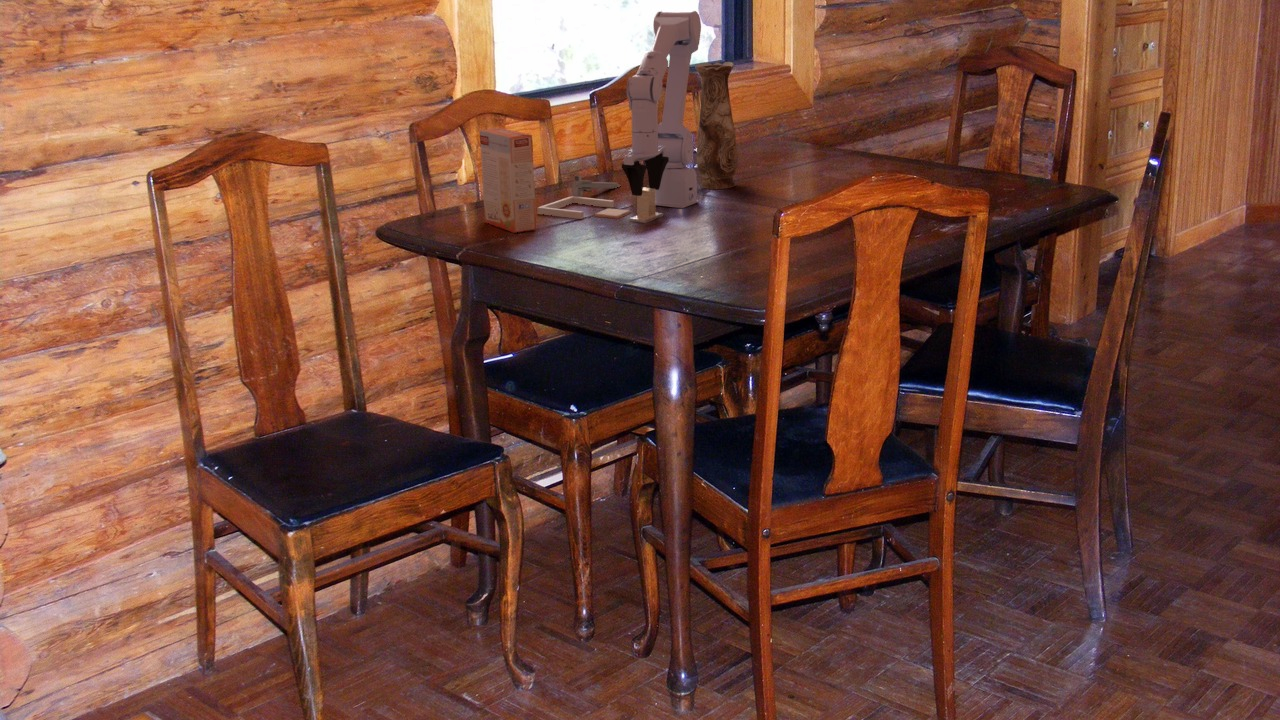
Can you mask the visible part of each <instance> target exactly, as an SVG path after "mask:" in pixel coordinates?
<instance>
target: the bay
mask: <svg viewBox="0 0 1280 720" xmlns="http://www.w3.org/2000/svg"><path fill="white" fill-rule="evenodd" d="M572 203H578V204H577V205H582V204H585V205H584V206H591V205H593V206H592V207H600V208H601V207H603V208H610V209H614V208H615V200H612V199H602V198H593V197H584V196H582V197H576V196H572V195H571V196H568V197H565V198H562V199H559V200H556V201H554V202H553V201H552V202H550V203H547V204H544V205H540V206H539V207H537V208H536V209H537V214H538V215H543V214H544V215H545V216H551V215H552V217H553V216H554V217H559V218H560V217H562V218H569V219H580V220H582V219H584V218H585V216H584V211H583V210H582V211H580V210H573V209H572V210H571V209H564V207H566V205H567V206H570V205H573V204H572ZM569 204H570V205H569ZM544 215H543V216H544Z"/></svg>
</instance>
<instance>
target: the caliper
mask: <svg viewBox="0 0 1280 720" xmlns="http://www.w3.org/2000/svg"><path fill="white" fill-rule="evenodd" d="M620 186H621V184H619V182H601V181H600V182H599V181H598V182H597V181H592V180H587V179H585V180H584V179H582V175H574V180H572V186H571V192H572V195H571V196H576V197H583V194H584V192H589V193H591V192H592V190H593V189H614V188H615V189H618V188H619V187H620ZM617 187H618V188H617Z"/></svg>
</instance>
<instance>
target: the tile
mask: <svg viewBox="0 0 1280 720" xmlns="http://www.w3.org/2000/svg"><path fill="white" fill-rule="evenodd" d="M630 214H631V210H628V209H617V208H609V207H607V208H606V209H603V210H601V211H599V212H596V213H595V214H594V217H597V218H598V217H599V218H609V219H616V220H617V219H618V220H619V219H620V218H623V217H625V216H627V215H630Z"/></svg>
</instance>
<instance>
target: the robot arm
mask: <svg viewBox="0 0 1280 720" xmlns="http://www.w3.org/2000/svg"><path fill="white" fill-rule="evenodd" d="M701 31H702V23H701V17H700V14H699V13H698V11H697V10H692V11H664V10H659V11H657V12H656V13H655V15H654V17H653V33H654V35H655V38H654V42H653V46H652V48H651V51H648V52H647V53H645V54H644V56H643V58H642V60H641V63H640V65H639V67H638V70H637V72H636V73H635V75H632V76H631V77H629V78H628V80H627V84H626V97H627V101H628V109H629V111H631V147H632V148H631V149H628V150H627V154H626V155H624V157H623V162H622V163H621V169H622V170H623V172H624V174H625V176H626V179H627V181H628V184H629V188H630V191H631V195H632V196H636V197H637V196H641V195H642V191H643V187H644V179H645V174H646V172H647V178H648V188H655V204H656V206H660V207H669V208H676V209H677V208H678V209H684V208H687V207H689V206H691V205H694V204H697V203H699V199H698V178H697V177H698V175H697V172H696V170H695V169H694V168H692V167H688V165H690V163H691V162H692V160H693V157H694V156H693V155H694V136H693V133H692V132H691V130H689V129H688V128H687V127H686V126H685V125H684V124H683V123H684V117H685V107H686V101H687V100H686V99H687V90H688V82H689V75H690V74H689V73H690V66H691V60H692V55H693V53H695V52H698V50H699V45H700V40H701ZM668 56H669V60H668V58H667V57H668ZM666 72H667V77H666V78H667V79H666V86H665V95H664V103H663V109H662V110H663V112H662V119H661V120H662V121H661V122H660V123H658V111H659V110H658V102H659V101H660V100H661V98H662V97H661V96H662V89H663V85H664V84H663V83H664V82H663V80H664V76H665V75H666ZM641 162H644V163H645V165H644V164H641Z"/></svg>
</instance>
